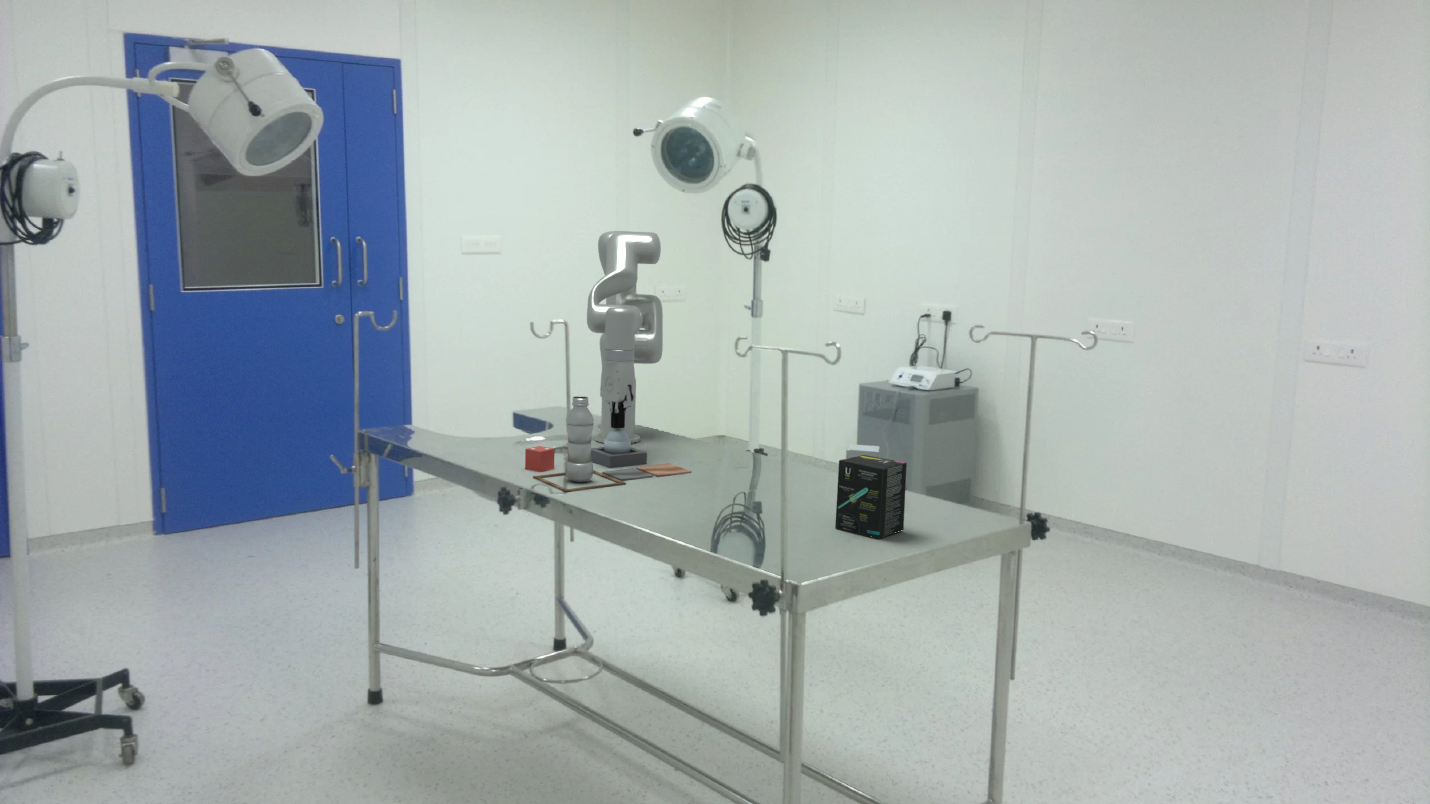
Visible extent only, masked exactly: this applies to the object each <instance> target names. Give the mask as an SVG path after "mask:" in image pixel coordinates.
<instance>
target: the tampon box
mask: <svg viewBox="0 0 1430 804" xmlns="http://www.w3.org/2000/svg"><path fill="white" fill-rule="evenodd" d="M906 481H907V462H905V461H898V460H894V459H888V458H883V457H879V458H878V457H873V456H867V455H862V456H857V457H851V458H848V459H846V458H843V459H839V461H838V473H837V489H836V490H837V493H836V494H837V495H836V505H835V506H836V509H835V511H836V512H835V526H834V529H835V530H840V531H844V532H847V533H851V532H852V534H855V535H859V534H860V536H863V535H865V536H864V537H868V536H872V537H875V538H874V539H876V538H880V539H882V537H883V536H886V537H888V536H887V535H889V536H892V535H895V534H896V533H895V532H898V531H901V530H903V531H904V530H905V529H904V528H905V527H904V523H905V508H906V507H905V503H906ZM901 532H902V531H901ZM894 533H895V534H894ZM898 533H899V532H898ZM891 534H892V535H891ZM872 537H871V538H872ZM883 538H884V537H883Z"/></svg>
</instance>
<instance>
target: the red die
mask: <svg viewBox="0 0 1430 804" xmlns="http://www.w3.org/2000/svg"><path fill="white" fill-rule="evenodd" d="M524 451H525V454H524V455H525V456H524V457H525V458H524V459H525V463H524V466H525V467H524V469H525V470H528V471H534V472H539V473H542V472H545V471H549V470H553V469H555V448H554V447H547V446H542V445H537V446H532V447H528V448H525V450H524Z"/></svg>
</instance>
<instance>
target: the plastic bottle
mask: <svg viewBox="0 0 1430 804" xmlns="http://www.w3.org/2000/svg"><path fill="white" fill-rule="evenodd" d="M571 405H572V408H571V409H570V410H569V412H568V414H567V415H566V418H565V422H566V431H567V441H568V443H567V447H568V448H567V457H566V463H565V470H564V473H565V472H566V475H565V477H566V478H567V480H569V481H572V482H577V483H582V482H588V481H590V480H591V479H592V478H593V470H594V465H593V462H592V456H591V448H592V435H593V431H594V430H593V429H594V421H595V419H594V416H593V414H592V412H591V411H590V409H589V408H588V407H589V405H590V404H589V397H588V396H585V395H584V396H582V395H581V396H580V395H578V396H577V395H576V396H572V403H571Z"/></svg>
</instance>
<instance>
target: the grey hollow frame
mask: <svg viewBox="0 0 1430 804" xmlns="http://www.w3.org/2000/svg"><path fill="white" fill-rule="evenodd" d="M591 456H592V463H594V464H596V465H600V466H603V467H605V468H608V469H614V468H616V469H617V468H623V467H631V466H632V467H633V466H640V465H647V464H648V461H647V459H648V457H647V456H648V453H647V451H643V450H640V449H637V448H635V447H632V446H631V448H630V453H623V454H614V455H612V454H609V453H606V452H604V446H599V447H591Z"/></svg>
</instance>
